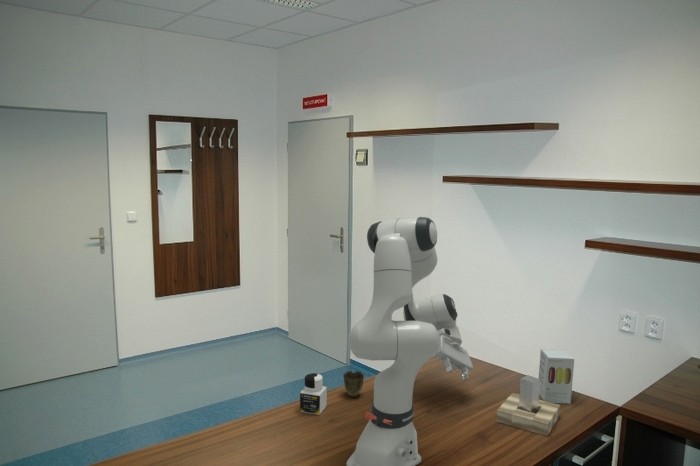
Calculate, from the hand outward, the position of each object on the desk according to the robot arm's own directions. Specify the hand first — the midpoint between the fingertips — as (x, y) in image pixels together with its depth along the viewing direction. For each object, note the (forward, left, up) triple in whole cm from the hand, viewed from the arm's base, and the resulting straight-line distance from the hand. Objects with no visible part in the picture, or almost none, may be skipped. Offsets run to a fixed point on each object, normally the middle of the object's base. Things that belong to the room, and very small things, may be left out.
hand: (457, 375), depth 179 cm
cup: (-12, +35, -12) cm, 39 cm away
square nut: (+7, -22, -12) cm, 26 cm away
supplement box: (+29, -25, -12) cm, 40 cm away
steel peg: (+7, -22, -12) cm, 26 cm away
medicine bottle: (-29, +40, -12) cm, 51 cm away
